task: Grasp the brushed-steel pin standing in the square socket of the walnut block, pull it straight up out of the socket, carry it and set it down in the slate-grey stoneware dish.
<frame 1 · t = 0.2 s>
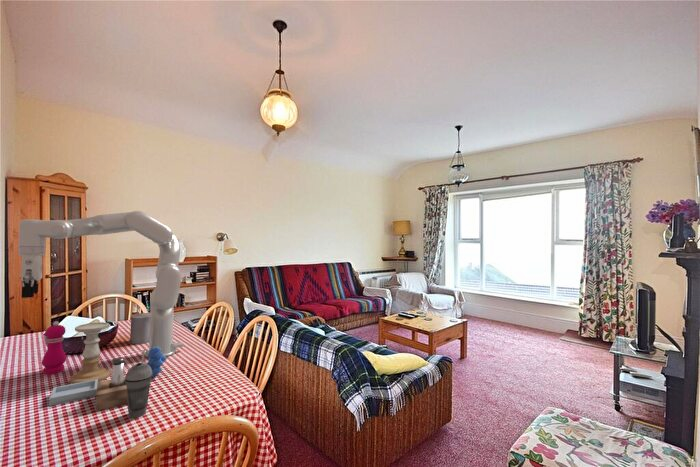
hand: (30, 295, 123), 31 cm above the table, tool pointing down, fingers open, 9 cm apart
pin: (117, 399, 108), resting in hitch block
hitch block: (117, 398, 108), on the table
pillar candle: (141, 341, 166), on the table
pepper mill: (53, 372, 127), on the table
beverage cup: (137, 414, 99), on the table
dish: (75, 395, 109), on the table
grapes: (156, 376, 126), on the table
candle holder: (90, 378, 123), on the table
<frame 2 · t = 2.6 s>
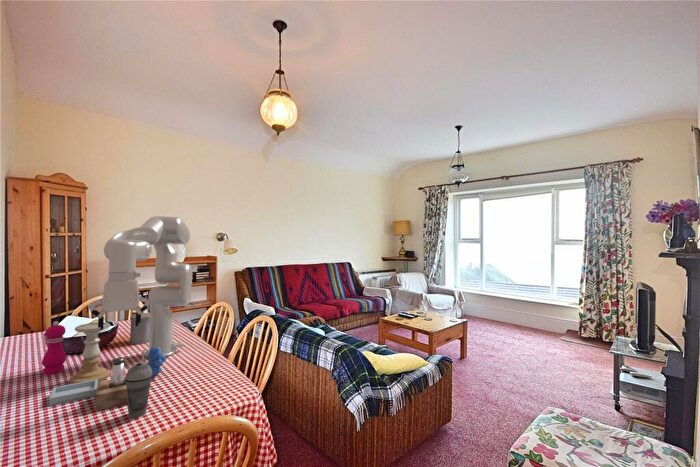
hand: (119, 327, 108), 24 cm above the table, tool pointing down, fingers open, 9 cm apart
nothing on the table moved.
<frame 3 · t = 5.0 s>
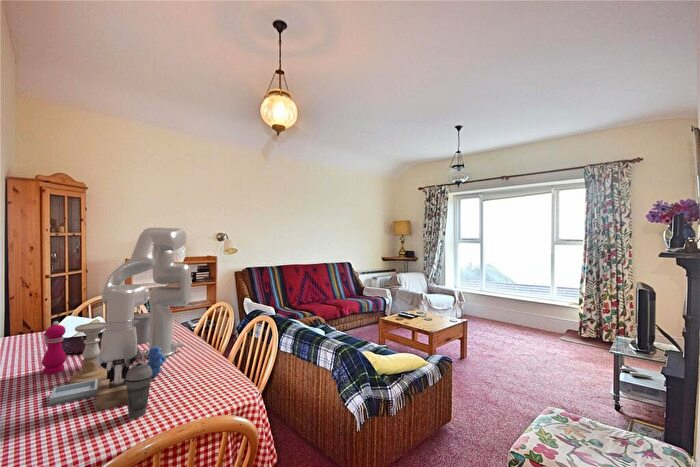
hand: (117, 378, 108), 7 cm above the table, tool pointing down, fingers closed on pin, 3 cm apart
pin: (117, 399, 108), resting in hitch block, touching gripper
everything else where it was.
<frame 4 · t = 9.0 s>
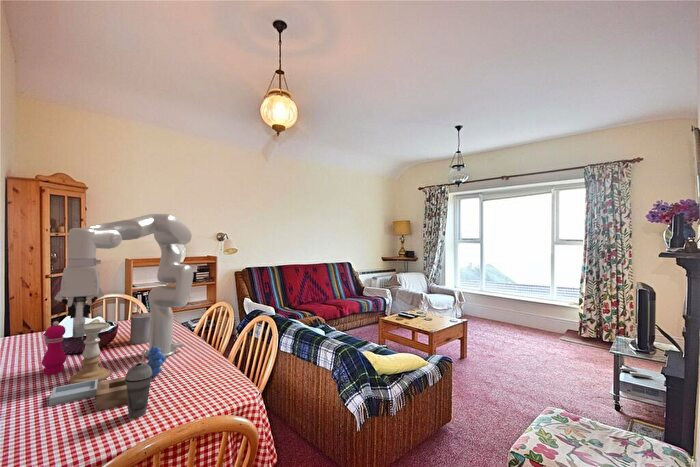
hand: (79, 316, 110), 27 cm above the table, tool pointing down, fingers closed on pin, 3 cm apart
pin: (78, 336, 110), point 20 cm above the table, touching gripper
everything else where it was.
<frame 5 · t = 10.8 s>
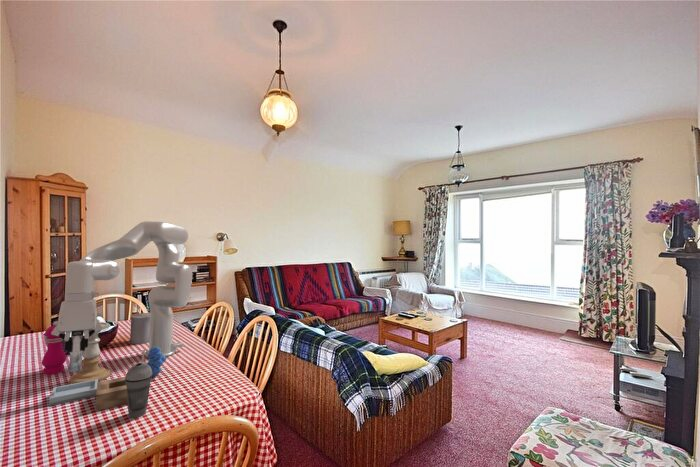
hand: (76, 350, 109), 16 cm above the table, tool pointing down, fingers closed on pin, 3 cm apart
pin: (75, 370, 109), point 9 cm above the table, touching gripper
everything else where it was.
when the fingers open (9 cm above the table, at t = 12.6 s): pin stays where it is, resting on dish.
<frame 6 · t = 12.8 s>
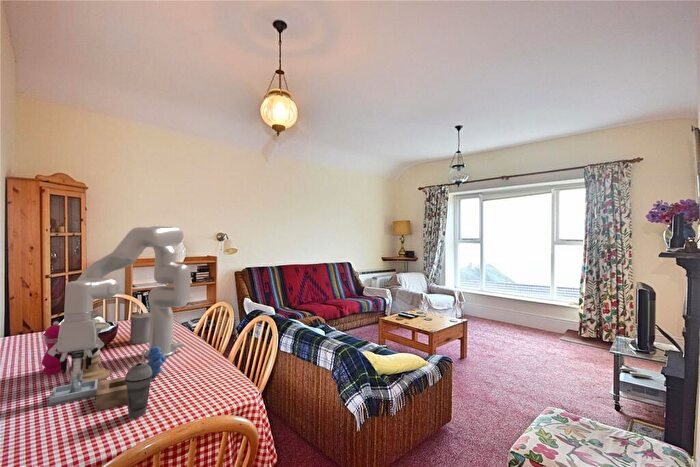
hand: (76, 369, 109), 9 cm above the table, tool pointing down, fingers open, 5 cm apart
pin: (75, 392, 109), point 1 cm above the table, touching dish
everything else where it was.
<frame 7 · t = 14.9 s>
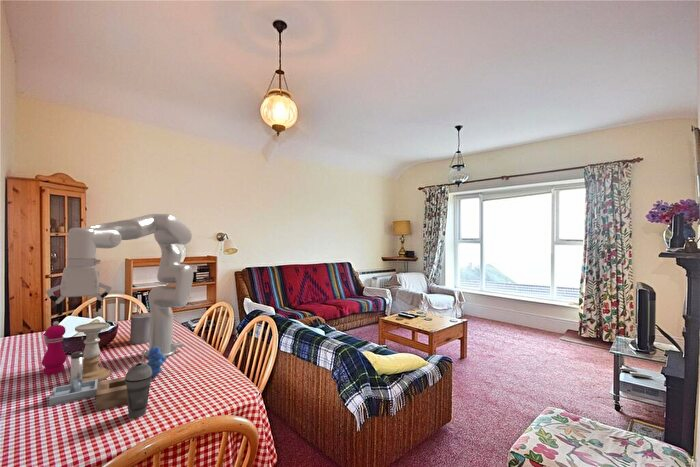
hand: (79, 312, 110), 28 cm above the table, tool pointing down, fingers open, 9 cm apart
nothing on the table moved.
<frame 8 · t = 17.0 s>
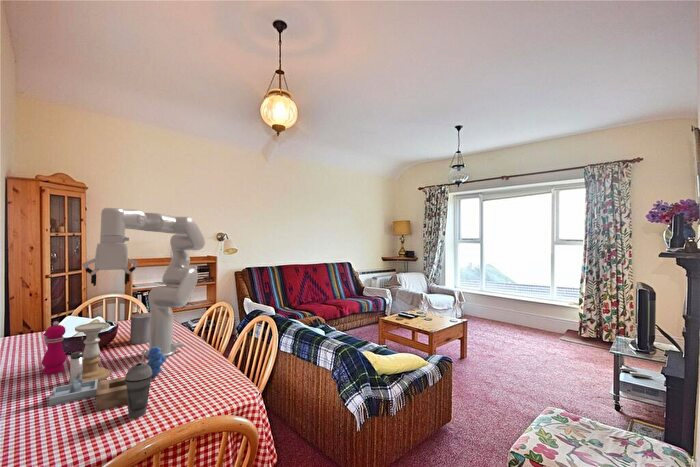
hand: (110, 284, 122), 36 cm above the table, tool pointing down, fingers open, 9 cm apart
nothing on the table moved.
at the end: pin inside the target area on the dish (0.1 cm from its centre), point 1.0 cm above the dish's base; the gripper is holding nothing; pin moved 15.6 cm from its start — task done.
